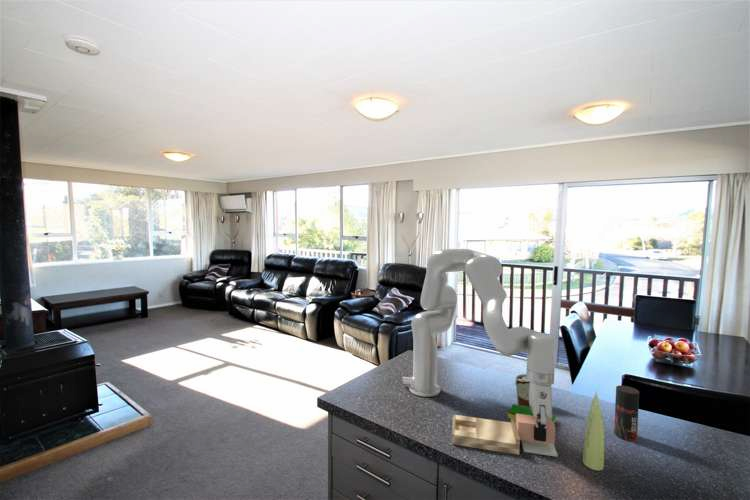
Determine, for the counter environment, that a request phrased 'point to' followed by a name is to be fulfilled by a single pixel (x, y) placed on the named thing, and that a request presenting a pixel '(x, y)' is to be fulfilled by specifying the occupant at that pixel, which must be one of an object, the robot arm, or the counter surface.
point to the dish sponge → (522, 411)
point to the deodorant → (626, 413)
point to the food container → (522, 390)
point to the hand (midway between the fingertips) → (537, 434)
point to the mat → (539, 448)
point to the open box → (486, 434)
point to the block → (527, 428)
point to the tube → (594, 438)
